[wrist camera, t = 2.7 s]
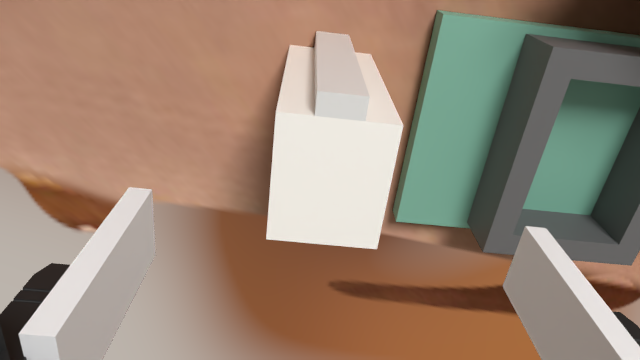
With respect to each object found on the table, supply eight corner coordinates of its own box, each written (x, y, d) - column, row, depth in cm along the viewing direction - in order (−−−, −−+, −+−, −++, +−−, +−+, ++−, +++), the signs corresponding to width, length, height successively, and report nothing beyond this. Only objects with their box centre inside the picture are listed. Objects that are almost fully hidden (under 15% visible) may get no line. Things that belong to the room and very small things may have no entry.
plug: (282, 135, 31) (266, 239, 21) (291, 27, 28) (277, 86, 18) (355, 142, 32) (376, 249, 21) (373, 37, 28) (408, 100, 18)
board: (392, 210, 34) (404, 251, 30) (437, 10, 28) (460, 25, 23) (651, 234, 36) (699, 277, 31) (751, 49, 29) (830, 70, 25)
